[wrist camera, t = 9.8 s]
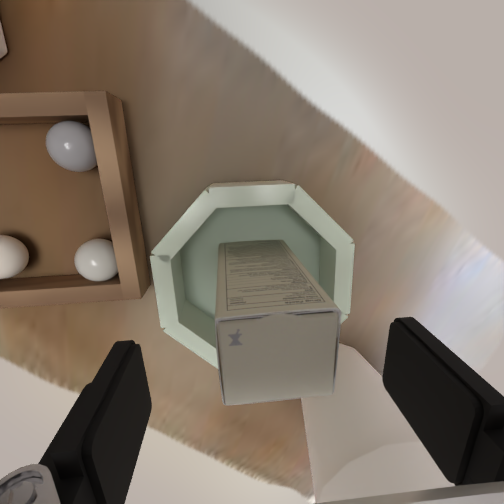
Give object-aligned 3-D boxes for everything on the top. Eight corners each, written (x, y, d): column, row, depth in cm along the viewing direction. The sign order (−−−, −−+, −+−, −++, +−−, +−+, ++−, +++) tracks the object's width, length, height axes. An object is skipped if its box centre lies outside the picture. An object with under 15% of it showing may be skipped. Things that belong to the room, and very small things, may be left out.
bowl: (156, 185, 20) (139, 191, 16) (335, 177, 21) (359, 180, 17) (178, 342, 24) (168, 376, 20) (328, 331, 25) (346, 361, 21)
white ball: (84, 235, 21) (59, 246, 18) (125, 233, 21) (107, 243, 18) (92, 273, 22) (70, 289, 19) (132, 271, 22) (116, 287, 19)
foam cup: (364, 416, 28) (470, 615, 16) (273, 409, 27) (310, 617, 15) (393, 333, 25) (549, 493, 13) (294, 322, 24) (361, 485, 12)
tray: (-76, 105, 18) (-124, 96, 15) (121, 100, 18) (105, 90, 16) (-11, 294, 22) (-40, 311, 19) (150, 284, 22) (141, 298, 20)
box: (221, 293, 22) (214, 409, 12) (218, 241, 21) (206, 318, 11) (287, 289, 23) (337, 399, 12) (287, 237, 21) (344, 309, 11)
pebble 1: (-1, 282, 21) (0, 241, 21) (39, 278, 21) (39, 237, 21) (-46, 280, 18) (-43, 233, 18) (1, 275, 18) (3, 228, 18)
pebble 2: (57, 122, 18) (26, 120, 16) (104, 120, 19) (81, 118, 16) (70, 170, 20) (43, 175, 17) (114, 168, 20) (94, 173, 17)
